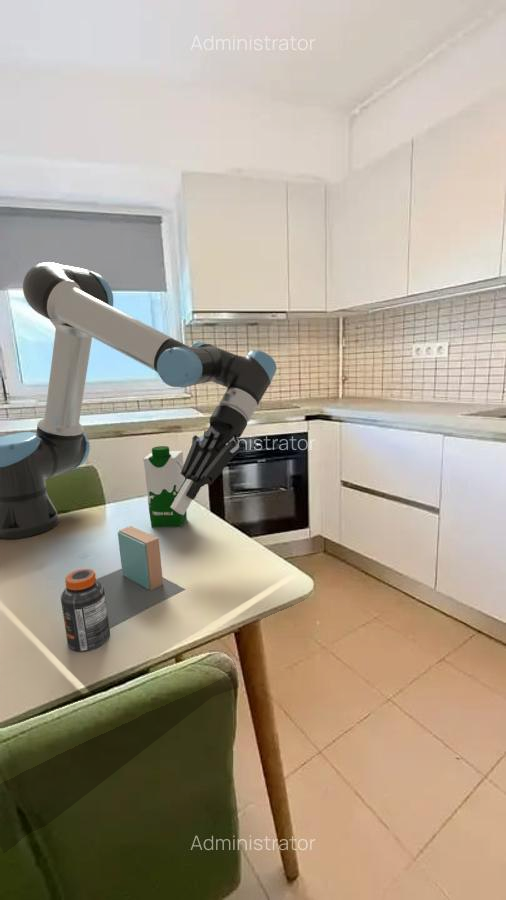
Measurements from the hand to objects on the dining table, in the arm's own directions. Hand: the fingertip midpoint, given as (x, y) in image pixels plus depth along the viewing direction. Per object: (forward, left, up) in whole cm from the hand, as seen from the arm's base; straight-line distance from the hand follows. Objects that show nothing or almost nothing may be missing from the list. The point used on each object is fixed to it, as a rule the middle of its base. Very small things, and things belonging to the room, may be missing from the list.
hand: (176, 511), depth 86 cm
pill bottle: (+9, -24, -12) cm, 28 cm away
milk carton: (-20, +12, -12) cm, 26 cm away
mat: (+1, -13, -12) cm, 18 cm away
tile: (0, -9, -11) cm, 14 cm away
